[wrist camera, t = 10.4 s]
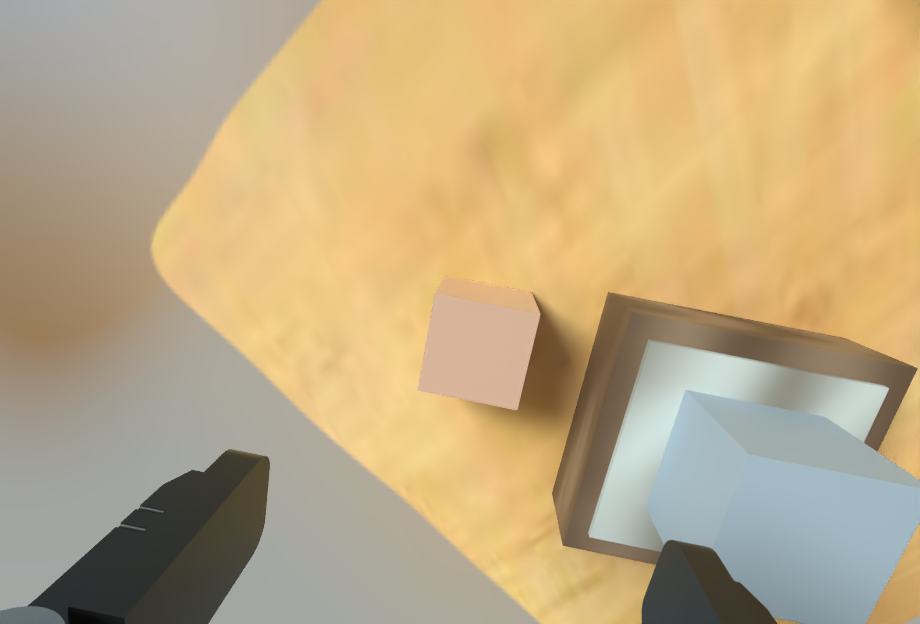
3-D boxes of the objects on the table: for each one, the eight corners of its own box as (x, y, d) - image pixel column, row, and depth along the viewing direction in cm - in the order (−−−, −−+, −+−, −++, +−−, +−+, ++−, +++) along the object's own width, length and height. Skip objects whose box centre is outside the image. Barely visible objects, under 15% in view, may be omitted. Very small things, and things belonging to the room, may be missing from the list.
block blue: (825, 416, 19) (936, 491, 15) (774, 532, 21) (859, 634, 16) (685, 389, 19) (749, 454, 15) (645, 507, 21) (691, 600, 16)
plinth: (845, 338, 23) (924, 371, 19) (760, 535, 26) (811, 601, 22) (608, 292, 23) (633, 314, 19) (552, 493, 26) (563, 550, 22)
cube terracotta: (531, 291, 23) (540, 314, 19) (512, 371, 24) (517, 410, 20) (445, 274, 23) (434, 293, 19) (430, 355, 25) (417, 390, 20)
